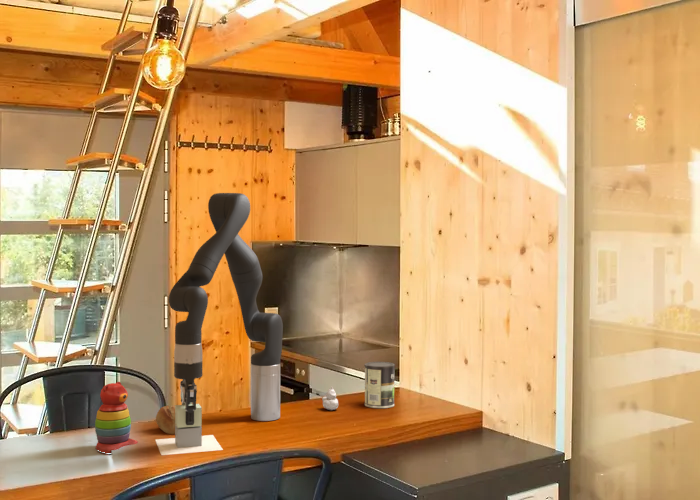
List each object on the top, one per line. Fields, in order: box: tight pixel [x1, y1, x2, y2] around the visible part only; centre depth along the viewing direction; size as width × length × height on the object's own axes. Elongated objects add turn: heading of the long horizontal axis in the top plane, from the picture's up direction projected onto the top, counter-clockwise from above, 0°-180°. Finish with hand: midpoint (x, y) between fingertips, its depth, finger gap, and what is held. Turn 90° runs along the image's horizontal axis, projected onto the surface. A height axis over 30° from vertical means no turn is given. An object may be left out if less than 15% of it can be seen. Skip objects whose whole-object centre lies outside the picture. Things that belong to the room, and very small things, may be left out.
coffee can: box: [364, 361, 396, 409], centre depth 271 cm, size 10×10×14 cm
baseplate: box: [154, 434, 224, 456], centre depth 217 cm, size 16×16×1 cm
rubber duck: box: [322, 386, 339, 411], centre depth 265 cm, size 5×7×8 cm
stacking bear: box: [94, 381, 139, 454], centre depth 217 cm, size 11×10×18 cm
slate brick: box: [174, 425, 203, 448], centre depth 217 cm, size 6×5×5 cm
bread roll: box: [155, 404, 176, 435], centre depth 234 cm, size 10×15×8 cm, turn 27°
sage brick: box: [175, 403, 203, 428], centre depth 216 cm, size 6×5×5 cm
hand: (188, 422), depth 217 cm, fingers closed on sage brick, 4 cm apart
